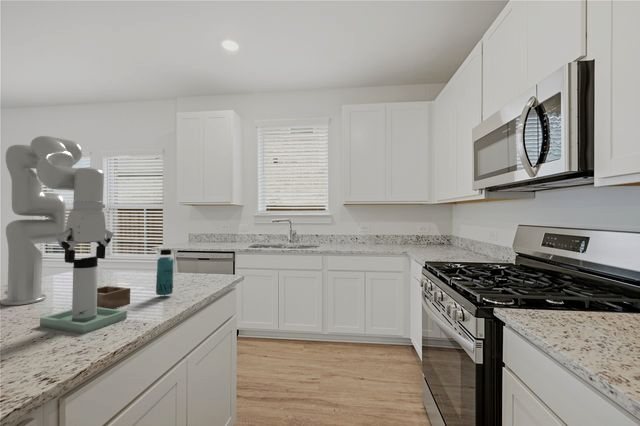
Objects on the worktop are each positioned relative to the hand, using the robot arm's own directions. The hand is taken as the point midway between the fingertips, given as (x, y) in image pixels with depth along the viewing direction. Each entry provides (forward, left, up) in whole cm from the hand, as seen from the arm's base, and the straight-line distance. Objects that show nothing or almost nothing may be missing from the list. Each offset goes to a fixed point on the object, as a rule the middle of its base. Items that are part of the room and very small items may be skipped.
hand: (85, 260), depth 98 cm
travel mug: (0, 0, -19) cm, 19 cm away
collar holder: (-9, +15, -20) cm, 26 cm away
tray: (+1, 0, -20) cm, 20 cm away
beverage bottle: (+1, +33, -20) cm, 38 cm away
